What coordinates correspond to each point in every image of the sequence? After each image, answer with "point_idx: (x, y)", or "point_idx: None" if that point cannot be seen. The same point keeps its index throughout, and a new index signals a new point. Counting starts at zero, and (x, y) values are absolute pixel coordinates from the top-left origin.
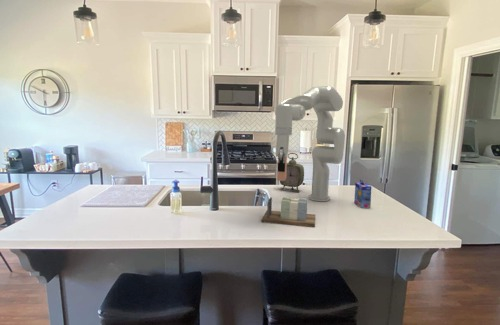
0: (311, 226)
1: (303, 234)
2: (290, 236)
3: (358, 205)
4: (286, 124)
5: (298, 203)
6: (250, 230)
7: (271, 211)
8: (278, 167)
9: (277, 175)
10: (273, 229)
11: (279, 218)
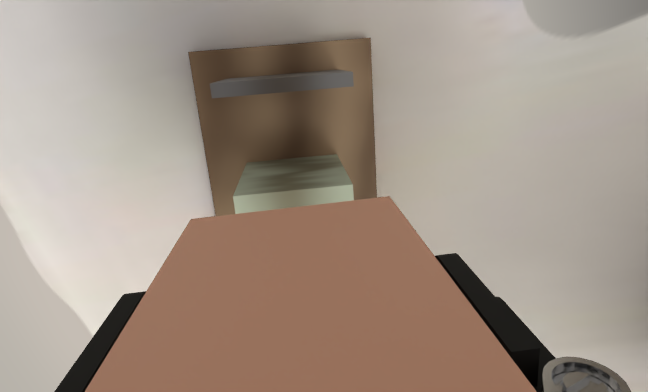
0: None
1: None
2: (66, 248)
3: None
4: None
5: None
6: (26, 23)
7: (354, 77)
8: (97, 349)
9: (175, 249)
10: (111, 149)
11: (243, 156)
